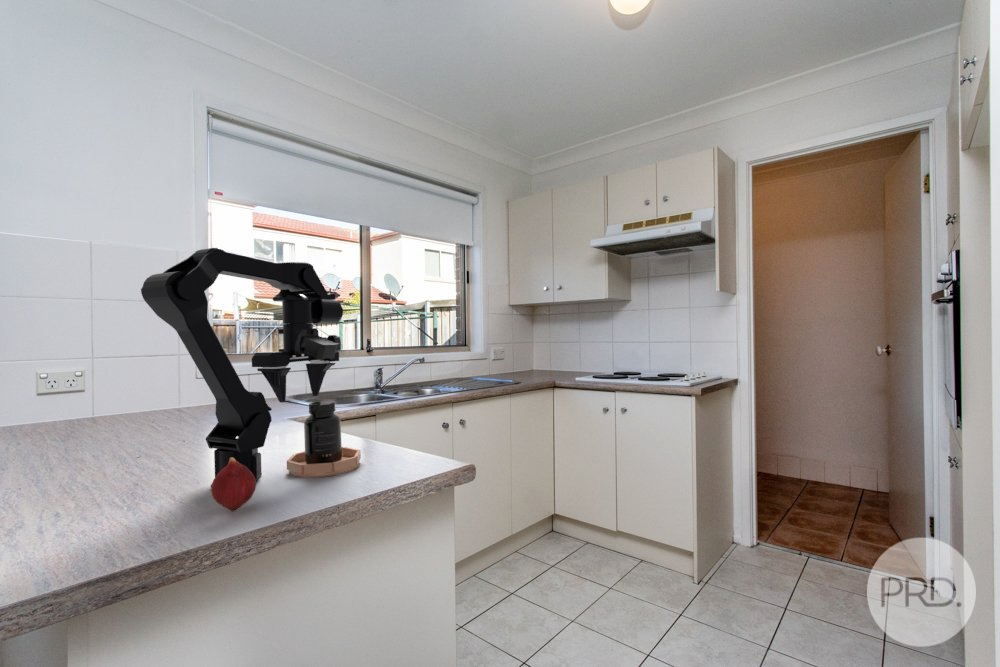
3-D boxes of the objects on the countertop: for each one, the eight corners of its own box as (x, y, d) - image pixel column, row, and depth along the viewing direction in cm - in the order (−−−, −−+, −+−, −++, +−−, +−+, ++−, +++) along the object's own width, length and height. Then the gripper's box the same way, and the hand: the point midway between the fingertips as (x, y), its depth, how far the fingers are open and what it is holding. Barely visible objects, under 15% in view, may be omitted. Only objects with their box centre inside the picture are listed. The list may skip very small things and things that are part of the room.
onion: (264, 504, 74) (263, 452, 74) (240, 518, 68) (239, 463, 68) (229, 503, 75) (228, 452, 75) (202, 517, 69) (201, 462, 69)
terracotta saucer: (280, 479, 86) (280, 466, 86) (299, 460, 99) (298, 449, 99) (354, 475, 88) (354, 462, 88) (363, 456, 101) (363, 445, 101)
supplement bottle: (302, 462, 95) (300, 402, 95) (337, 456, 99) (336, 398, 99) (308, 470, 89) (306, 406, 89) (345, 464, 93) (343, 402, 93)
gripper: (294, 322, 87) (296, 407, 87) (358, 323, 104) (360, 394, 105) (248, 324, 91) (250, 405, 91) (318, 324, 108) (319, 392, 109)
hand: (299, 398), depth 99 cm, fingers open, 9 cm apart
